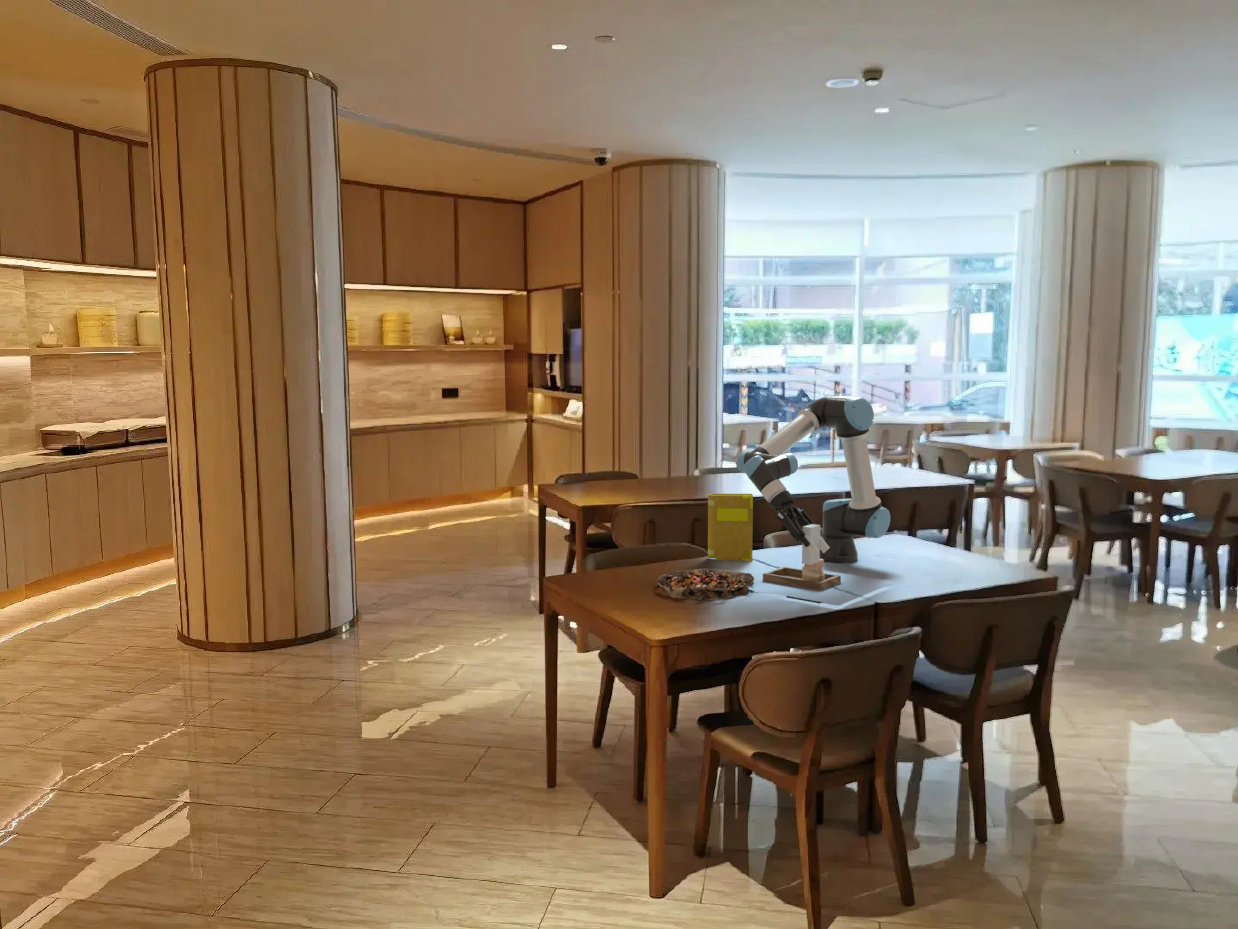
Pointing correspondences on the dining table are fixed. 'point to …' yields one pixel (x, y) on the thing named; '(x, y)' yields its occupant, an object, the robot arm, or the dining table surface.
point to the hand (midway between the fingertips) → (821, 551)
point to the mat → (804, 599)
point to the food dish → (706, 584)
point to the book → (730, 526)
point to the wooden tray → (799, 578)
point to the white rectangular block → (814, 536)
